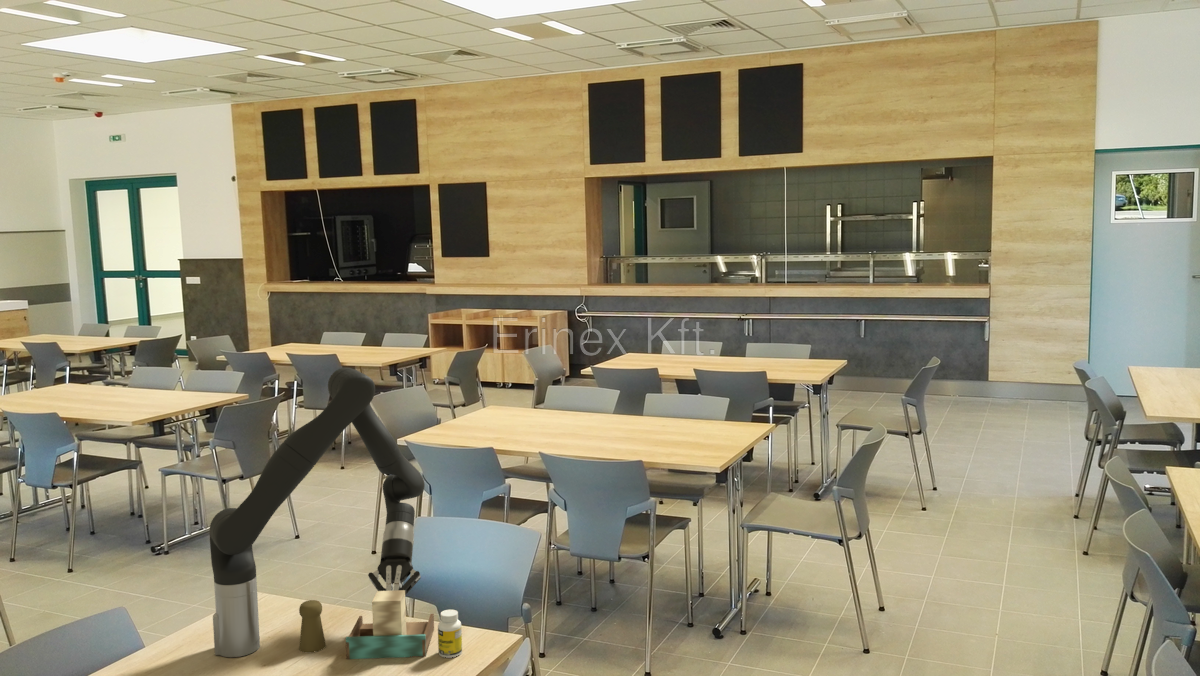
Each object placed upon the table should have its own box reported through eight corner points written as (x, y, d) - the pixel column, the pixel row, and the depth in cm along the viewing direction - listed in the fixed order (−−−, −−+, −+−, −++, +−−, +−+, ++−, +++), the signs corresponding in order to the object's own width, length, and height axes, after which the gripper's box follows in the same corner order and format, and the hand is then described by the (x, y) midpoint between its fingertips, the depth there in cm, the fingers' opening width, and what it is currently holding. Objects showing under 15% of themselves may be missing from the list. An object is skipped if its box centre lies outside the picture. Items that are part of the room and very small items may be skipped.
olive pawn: (313, 639, 225) (311, 595, 224) (331, 645, 222) (329, 600, 221) (293, 649, 220) (291, 604, 219) (311, 654, 217) (309, 608, 216)
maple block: (373, 647, 216) (371, 601, 214) (378, 635, 222) (377, 591, 221) (402, 646, 216) (400, 600, 215) (406, 635, 222) (405, 590, 221)
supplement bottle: (433, 655, 216) (432, 614, 215) (448, 646, 220) (446, 606, 219) (452, 660, 213) (451, 618, 212) (466, 651, 218) (465, 610, 217)
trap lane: (346, 659, 214) (345, 638, 214) (360, 631, 230) (359, 612, 229) (425, 656, 215) (425, 635, 215) (434, 629, 230) (433, 609, 230)
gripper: (368, 537, 230) (360, 605, 219) (422, 536, 230) (417, 603, 220) (373, 551, 236) (365, 618, 225) (426, 550, 236) (421, 616, 225)
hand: (391, 610), depth 222 cm, fingers closed
